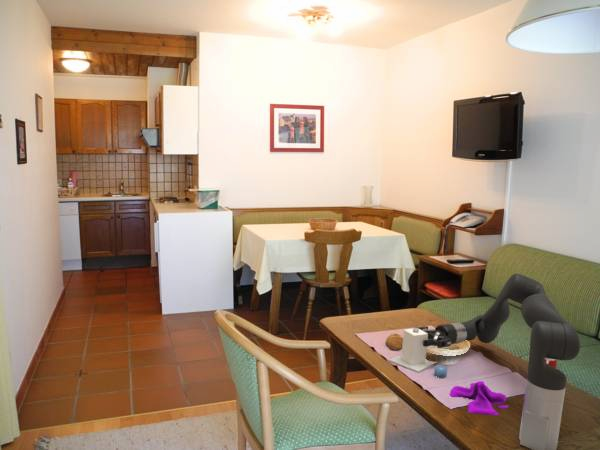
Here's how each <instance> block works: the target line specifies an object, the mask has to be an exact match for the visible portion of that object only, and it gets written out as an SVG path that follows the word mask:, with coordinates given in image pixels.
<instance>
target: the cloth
mask: <svg viewBox="0 0 600 450" xmlns="http://www.w3.org/2000/svg"><path fill="white" fill-rule="evenodd" d="M470 385H471V386H470ZM469 386H470V387H469V388H468V387H464V386H459V385H455V386H453V387H452V388H451V390H450V392H449V397H450V396H451V398H461V397H463V399H466V398H468V399H467V400H471V399H472V400H471V401H470V402H468V404H467V408H468V410H467V412H468V413H470V414H480V415H489V416H499V412H497V410H495V409H494V408H493V405H496V404H497V405H498V404H499V405H498V406H497V408H498V409H501V410H504V409H507V408H509V405H508V404H507V405H506V404H504V403H505V401H507V395H505V393H502V392H494V391H492V390H491V389H490V388H489V387H488V386H487V384H485V382H484V381H483V380H481V381H476V382H472V383H470V384H469ZM492 404H493V405H492Z"/></svg>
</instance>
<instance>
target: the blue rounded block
mask: <svg viewBox="0 0 600 450" xmlns="http://www.w3.org/2000/svg"><path fill="white" fill-rule="evenodd" d="M447 374H448V367H447V366H446V365H443V364H437V365H436V364H435V367H434V373H433V375H434V377H436V376H437V377H436V378H438V377H439V378H438V379H446V378H447V377H448V376H447ZM445 377H446V378H445Z"/></svg>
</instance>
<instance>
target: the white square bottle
mask: <svg viewBox="0 0 600 450" xmlns="http://www.w3.org/2000/svg"><path fill="white" fill-rule="evenodd" d="M402 334H403V336H402V338H403V345H402V348H401V354H402V356H401V359H402V360H404V361H405V362H407V363H408V364H410V365H411V366H412V365H418V364H424V363H425V360H426V358H427V348H428V346H427V347H424V346H423V341H424V340H428V333H426V332H424V331H422V330H420V329H418V328H415V327H413V328H407V329H403V333H402Z"/></svg>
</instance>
